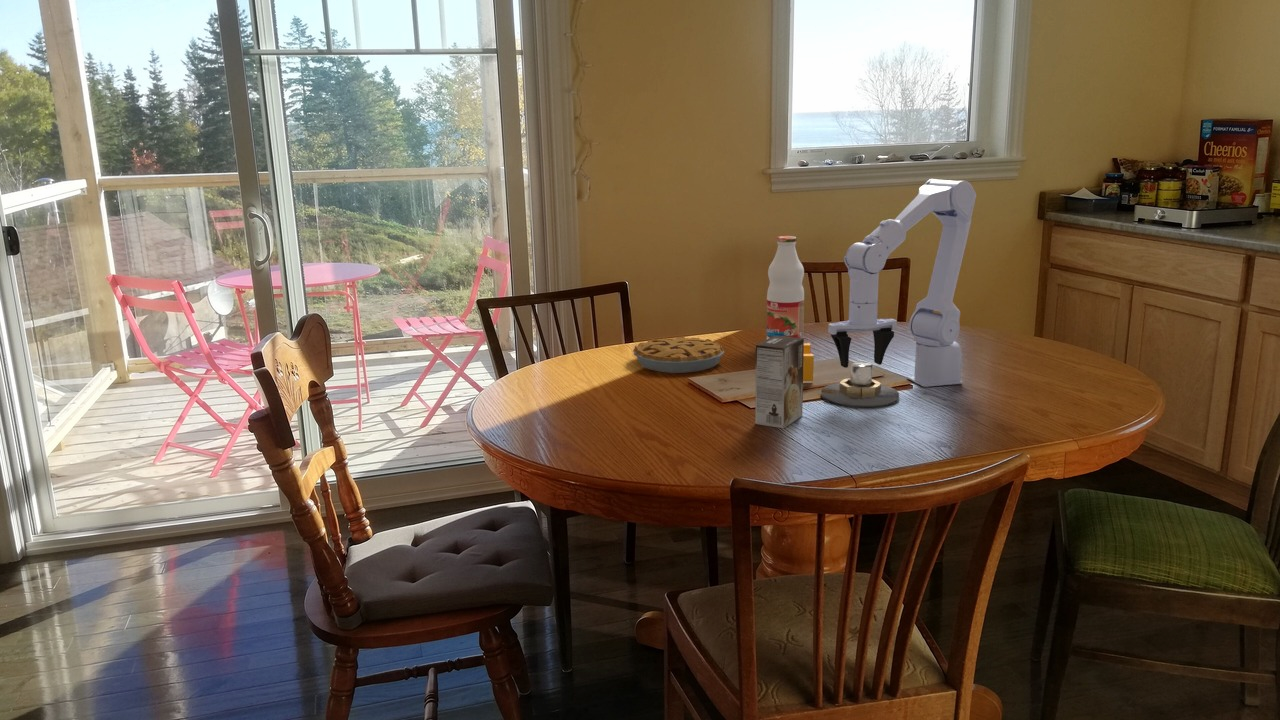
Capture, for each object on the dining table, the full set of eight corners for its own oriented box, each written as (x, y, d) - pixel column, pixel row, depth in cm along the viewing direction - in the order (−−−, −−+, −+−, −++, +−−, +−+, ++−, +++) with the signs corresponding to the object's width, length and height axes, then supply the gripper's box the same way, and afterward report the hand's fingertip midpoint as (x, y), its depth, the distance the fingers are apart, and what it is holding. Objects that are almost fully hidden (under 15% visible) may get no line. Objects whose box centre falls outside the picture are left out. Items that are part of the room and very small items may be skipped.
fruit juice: (810, 345, 247) (813, 236, 240) (784, 351, 242) (786, 240, 235) (784, 338, 255) (786, 233, 248) (758, 344, 249) (760, 237, 242)
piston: (869, 389, 204) (870, 362, 202) (872, 395, 200) (873, 367, 198) (848, 389, 204) (849, 362, 203) (851, 395, 200) (852, 367, 199)
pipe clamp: (790, 369, 225) (791, 343, 224) (809, 370, 225) (810, 343, 223) (793, 383, 214) (793, 355, 212) (812, 384, 213) (813, 356, 212)
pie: (742, 365, 230) (742, 344, 229) (669, 380, 218) (668, 359, 217) (687, 348, 248) (686, 329, 247) (616, 361, 236) (615, 341, 235)
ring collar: (877, 383, 212) (877, 370, 211) (912, 404, 197) (913, 390, 196) (809, 389, 208) (809, 376, 208) (840, 410, 193) (841, 396, 193)
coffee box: (773, 411, 194) (774, 334, 190) (803, 416, 191) (805, 337, 186) (754, 424, 186) (754, 344, 182) (784, 429, 183) (786, 347, 179)
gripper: (886, 295, 203) (884, 357, 206) (822, 300, 200) (821, 363, 203) (902, 301, 196) (899, 365, 200) (837, 306, 193) (835, 371, 196)
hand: (861, 364), depth 201 cm, fingers open, 7 cm apart
